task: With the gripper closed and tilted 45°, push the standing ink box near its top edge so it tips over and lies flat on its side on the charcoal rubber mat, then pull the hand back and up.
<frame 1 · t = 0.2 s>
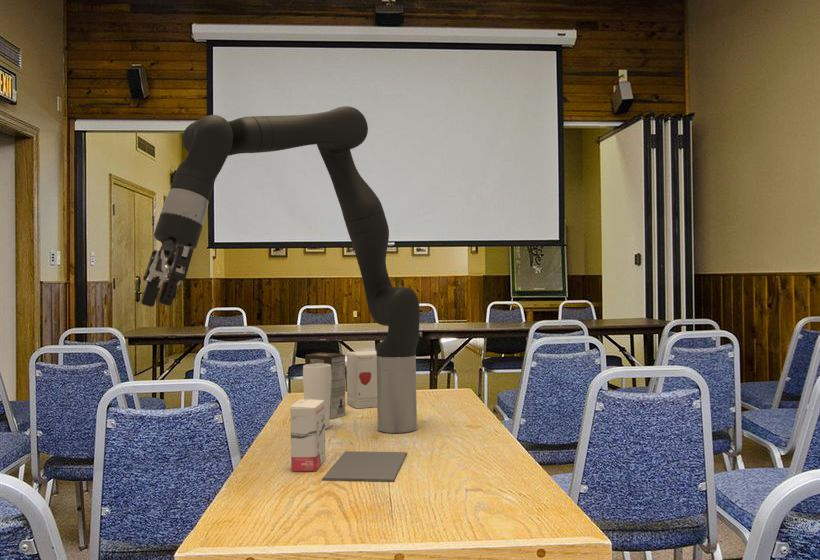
hand: (155, 305, 112), 31 cm above the table, tool tilted 20°, fingers open, 8 cm apart
coffee box: (325, 416, 167), on the table
charcoal mat: (367, 466, 119), on the table
ink box: (308, 466, 120), on the table
drinking glass: (318, 429, 152), on the table
supplement box: (366, 405, 181), on the table
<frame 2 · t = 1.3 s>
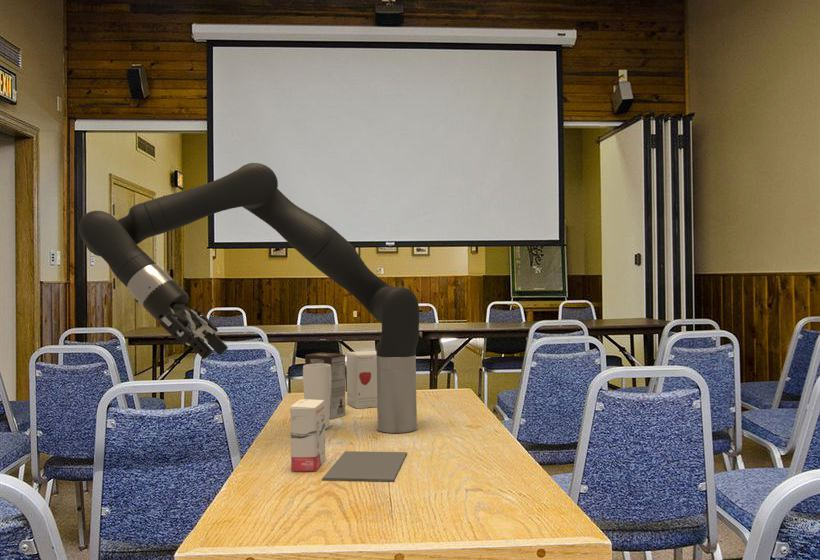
hand: (216, 353, 123), 21 cm above the table, tool tilted 45°, fingers open, 6 cm apart
nothing on the table moved.
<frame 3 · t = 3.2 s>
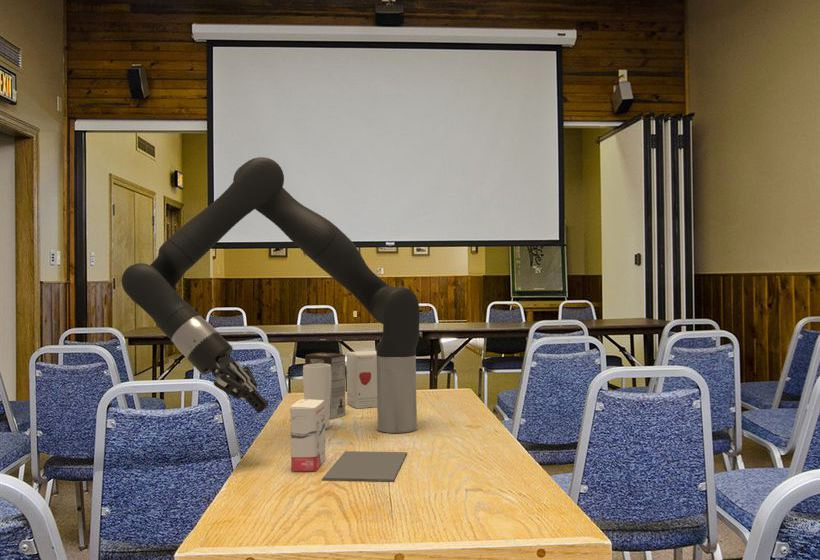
hand: (264, 408, 121), 11 cm above the table, tool tilted 45°, fingers closed
nothing on the table moved.
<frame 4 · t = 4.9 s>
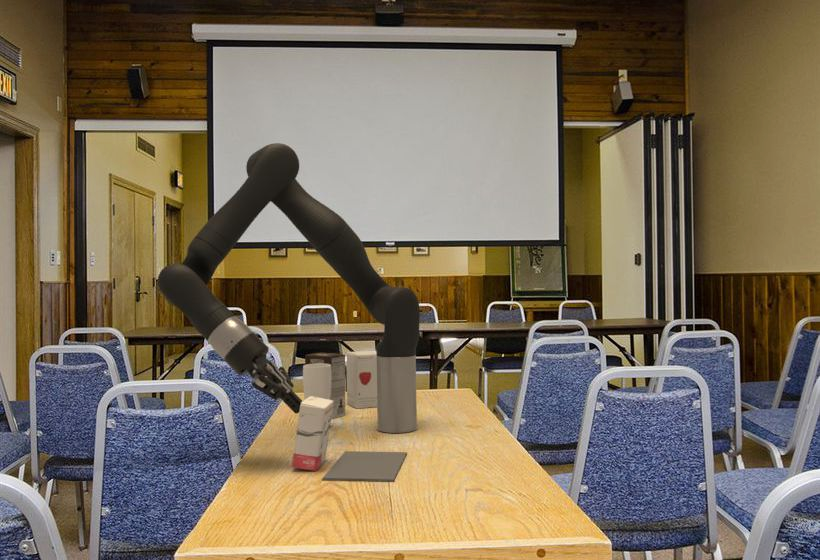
hand: (301, 409, 121), 10 cm above the table, tool tilted 45°, fingers closed
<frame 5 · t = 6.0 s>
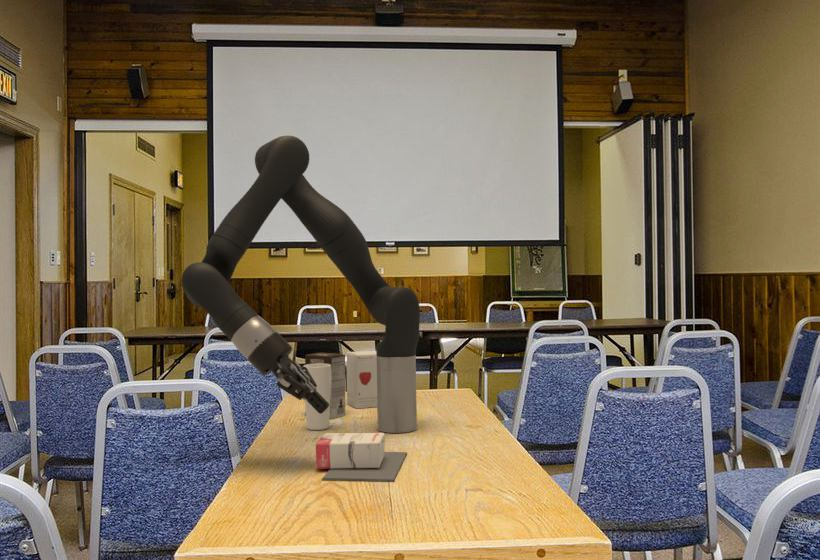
hand: (325, 409, 120), 10 cm above the table, tool tilted 45°, fingers closed
ink box: (319, 450, 120), point 3 cm above the table, touching charcoal mat
everything else where it was.
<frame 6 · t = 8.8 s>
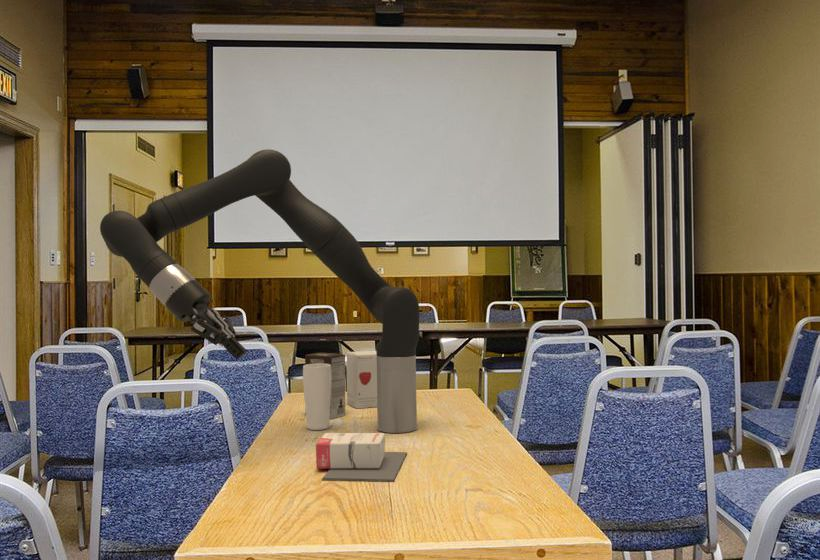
hand: (242, 355, 122), 21 cm above the table, tool tilted 45°, fingers closed
nothing on the table moved.
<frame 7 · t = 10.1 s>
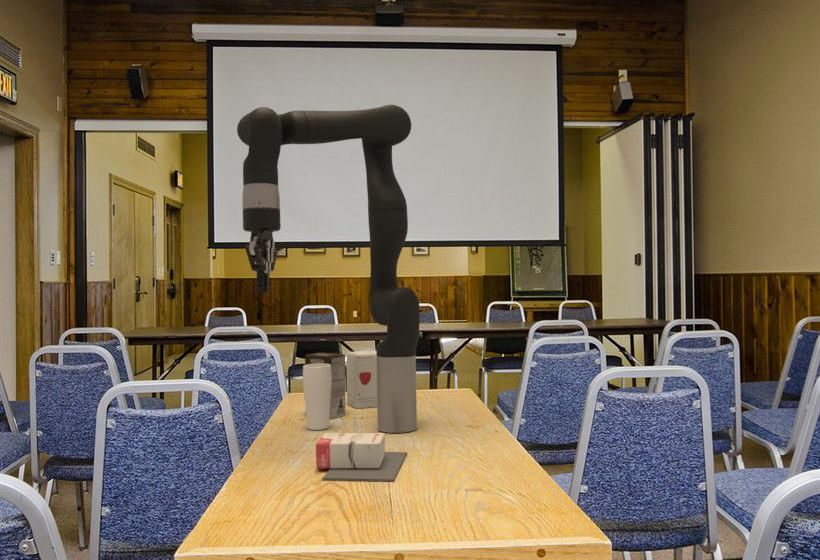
hand: (263, 292, 131), 33 cm above the table, tool pointing down, fingers closed
nothing on the table moved.
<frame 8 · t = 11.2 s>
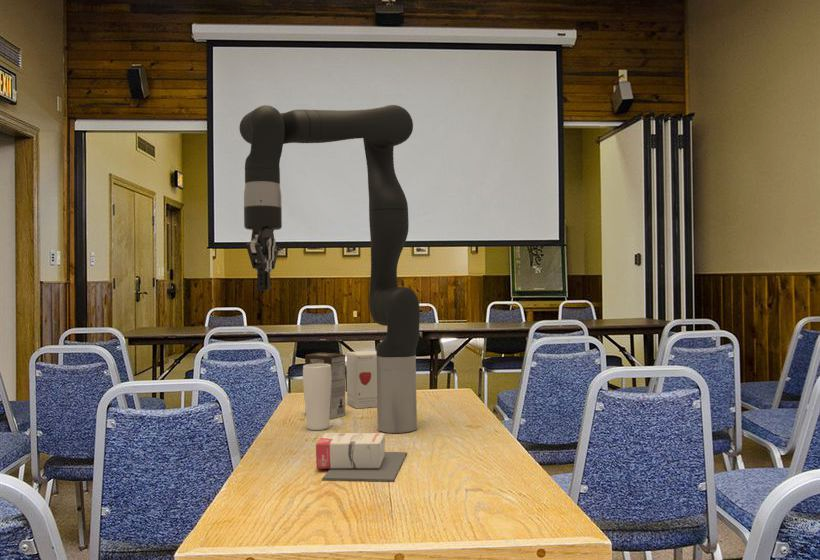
hand: (263, 290, 131), 33 cm above the table, tool pointing down, fingers closed
nothing on the table moved.
at the end: ink box tilted 90°; ink box inside the target area (4.4 cm from its centre), point 2.8 cm above the table; ink box touching charcoal mat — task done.
